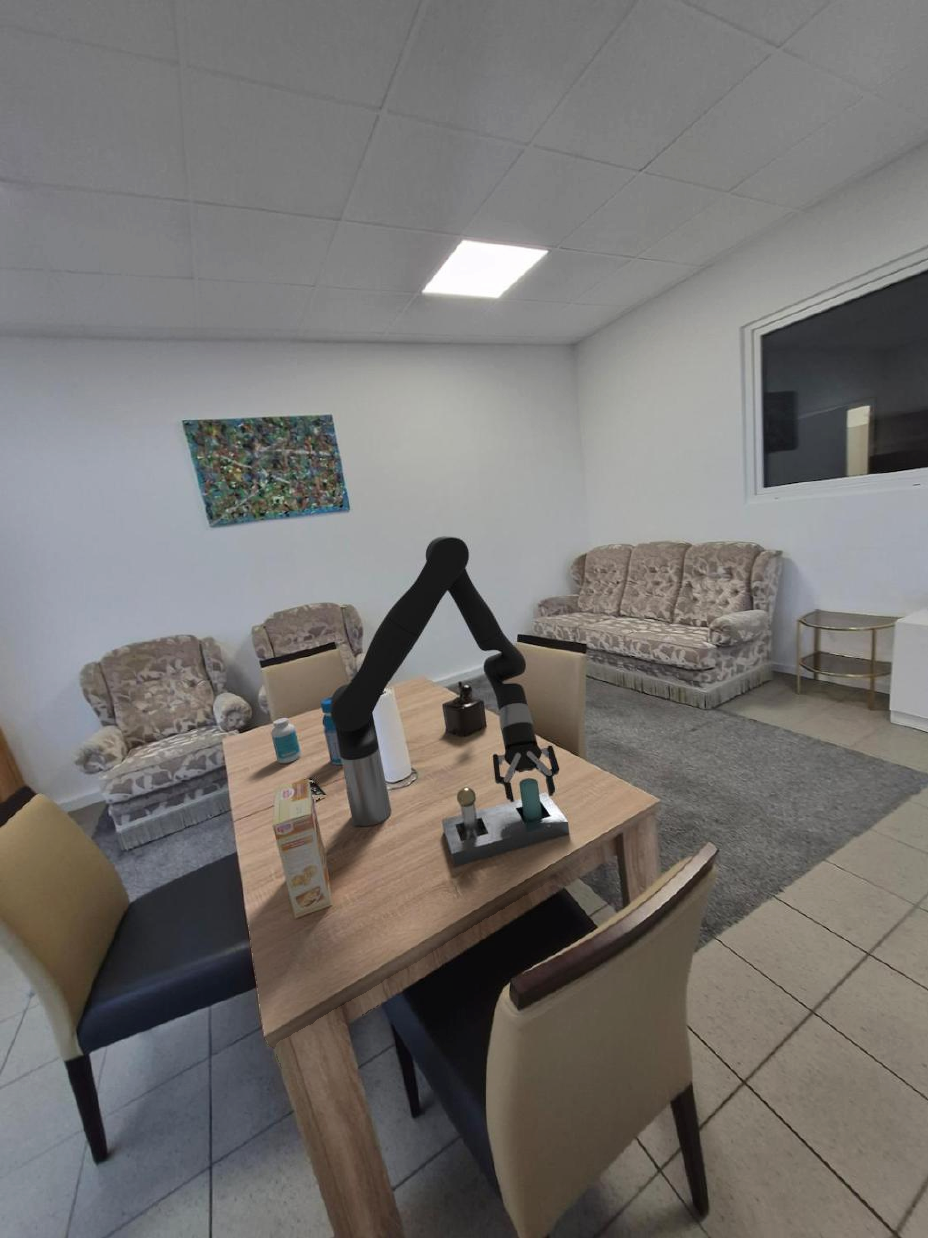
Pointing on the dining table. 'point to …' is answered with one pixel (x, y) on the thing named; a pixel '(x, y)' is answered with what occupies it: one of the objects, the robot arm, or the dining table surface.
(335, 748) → the beverage bottle
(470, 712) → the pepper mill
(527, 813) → the teal peg
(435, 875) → the dining table surface
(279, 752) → the pill bottle
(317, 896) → the coffeecake box
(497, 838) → the hole plate
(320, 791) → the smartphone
